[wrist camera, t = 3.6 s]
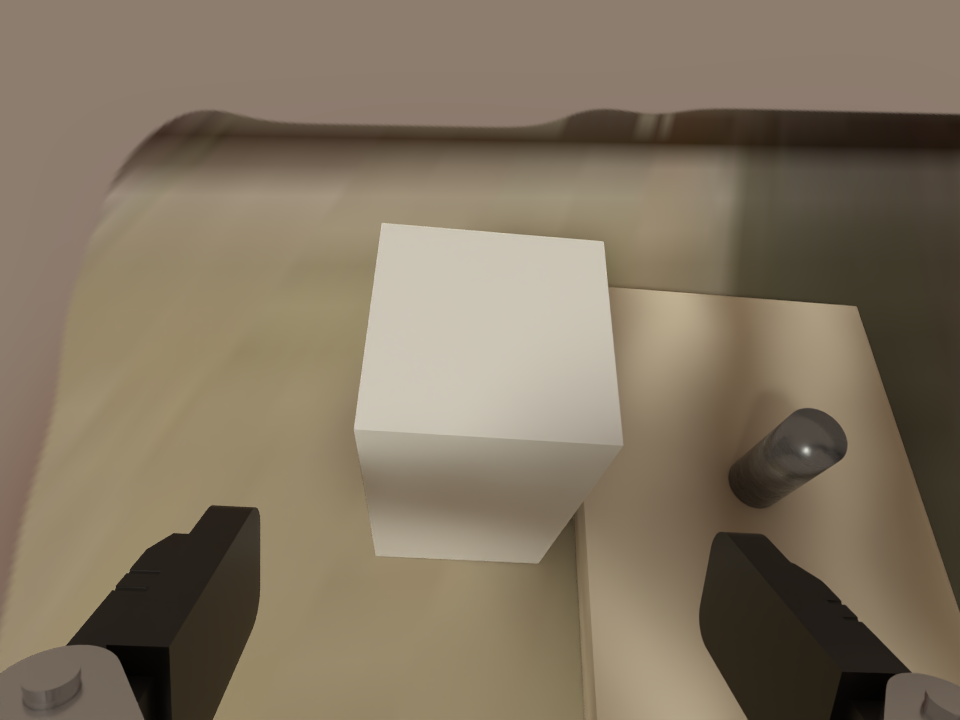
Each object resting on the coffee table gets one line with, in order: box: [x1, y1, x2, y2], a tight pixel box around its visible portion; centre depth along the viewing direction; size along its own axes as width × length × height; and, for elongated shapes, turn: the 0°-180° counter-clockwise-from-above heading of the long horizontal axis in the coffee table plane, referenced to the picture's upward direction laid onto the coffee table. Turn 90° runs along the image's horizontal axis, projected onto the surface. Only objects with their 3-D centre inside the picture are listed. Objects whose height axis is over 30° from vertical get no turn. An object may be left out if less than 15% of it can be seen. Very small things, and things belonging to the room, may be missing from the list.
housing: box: [354, 223, 623, 564], centre depth 19 cm, size 5×5×10 cm
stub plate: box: [574, 287, 960, 720], centre depth 21 cm, size 12×16×6 cm
